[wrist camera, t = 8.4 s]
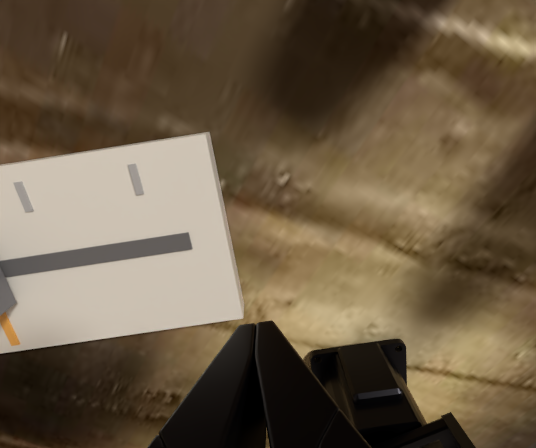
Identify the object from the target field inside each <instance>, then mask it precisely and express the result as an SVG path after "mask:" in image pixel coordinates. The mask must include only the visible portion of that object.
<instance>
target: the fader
mask: <svg viewBox="0 0 536 448" xmlns="http://www.w3.org/2000/svg"><path fill="white" fill-rule="evenodd" d="M15 303H17V302H16V300H15V297H14V295H13V293H12V291H11V289H10V287H9V284H8V282H7V280H6V278H5V276H4V274H3V271H2V269H1V267H0V316H1V315H2V314H3V313H4V312H6V311H7V310H8V309H9V308H10V307H12V306H13V305H14V304H15Z"/></svg>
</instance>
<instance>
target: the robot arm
mask: <svg viewBox="0 0 536 448" xmlns="http://www.w3.org/2000/svg"><path fill="white" fill-rule="evenodd" d="M397 346H399V347H398V348H396V347H397ZM317 357H319V359H315V358H317ZM310 364H311V370H310V369H309V367H308V366H307V365H306V363H305V362H304V361H303V360H302V358H301V357H300V356H299V354H298V353H297V352H296V350H295V349H294V348H293V346H292V345H291V344H290V343H289V341H288V340H287V339H286V337H285V336H284V335H283V333H282V332H281V331H280V329H279V328H278V327H277V326H276V324H275V323H274V322H273V321H265V322H259V323H257V325H256V324H254V323H251V324H244V325H240V326H238V328H237V329H236V330H235V332H234V333H233V334H232V336H231V337H230V338H229V340H228V341H227V342H226V344H225V345H224V346H223V348H222V349H221V350H220V352H219V353H218V354H217V356H216V357H215V358H214V360H213V361H212V362H211V364H210V365H209V366H208V368H207V369H206V370H205V372H204V373H203V374H202V376H201V377H200V378H199V380H198V381H197V382H196V384H195V385H194V386H193V388H192V389H191V390H190V391H189V393H188V394H187V395H186V397H185V398H184V399H183V401H182V402H181V403H180V405H179V406H178V407H177V409H176V410H175V411H174V413H173V414H172V415H171V417H170V418H169V419H168V421H167V422H166V423H165V425H164V426H163V427H162V429H161V430H160V431H159V435H160V436H159V435H157V436H156V437H155V438H154V439H153V441H152V442H151V443H150V445H149V446H148V447H147V448H265V445H266V427H267V433H268V438H269V444H270V448H475V446H474V445H473V443H472V442H471V440H470V439H469V438H468V436H467V435H466V433H465V432H464V430H463V429H462V428H461V426H460V425H459V423H458V422H457V420H456V419H455V418H454V416H453V415H452V413H451V412H450V413H447V414H445V415H442V416H441V417H442V418H440V419H438V420H435V421H433V422H430V423H428V424H427V423H426V421H425V419H424V417H423V415H422V413H421V412H420V410H419V408H418V406H417V404H416V402H415V400H414V398H413V397H412V395H411V393H410V391H409V389H408V387H407V374H406V346H405V344H404V342H403V341H402V340H400V339H392V340H385V341H378V342H371V343H364V344H357V345H350V346H343V347H336V348H329V349H322V350H316V351H313V352H312V353H311V354H310Z"/></svg>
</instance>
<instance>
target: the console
mask: <svg viewBox="0 0 536 448" xmlns="http://www.w3.org/2000/svg"><path fill="white" fill-rule="evenodd" d="M0 267H1V269H2V271H3V274H4V276H5V278H6V280H7V282H8V284H9V287H10V289H11V291H12V293H13V295H14V297H15V300H16V302H17V303H15V304H14V305H13V306H12V307H10V308H9V309H8V310H7V311H6V312H4V313H3V314H2V315H1V316H0V354H2V353H9V352H15V351H22V350H29V349H36V348H43V347H50V346H57V345H64V344H70V343H77V342H84V341H91V340H98V339H105V338H112V337H119V336H125V335H132V334H139V333H146V332H153V331H160V330H167V329H174V328H181V327H187V326H194V325H201V324H208V323H215V322H222V321H229V320H236V319H242V318H243V315H244V301H243V296H242V291H241V286H240V281H239V276H238V271H237V266H236V261H235V256H234V251H233V246H232V241H231V237H230V232H229V227H228V222H227V217H226V212H225V207H224V202H223V197H222V192H221V187H220V182H219V177H218V172H217V167H216V162H215V157H214V152H213V147H212V142H211V137H210V132H205V133H199V134H192V135H186V136H180V137H173V138H167V139H161V140H154V141H148V142H142V143H136V144H129V145H123V146H117V147H110V148H104V149H98V150H91V151H85V152H79V153H72V154H66V155H60V156H53V157H47V158H41V159H34V160H28V161H22V162H15V163H9V164H3V165H0Z"/></svg>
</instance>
